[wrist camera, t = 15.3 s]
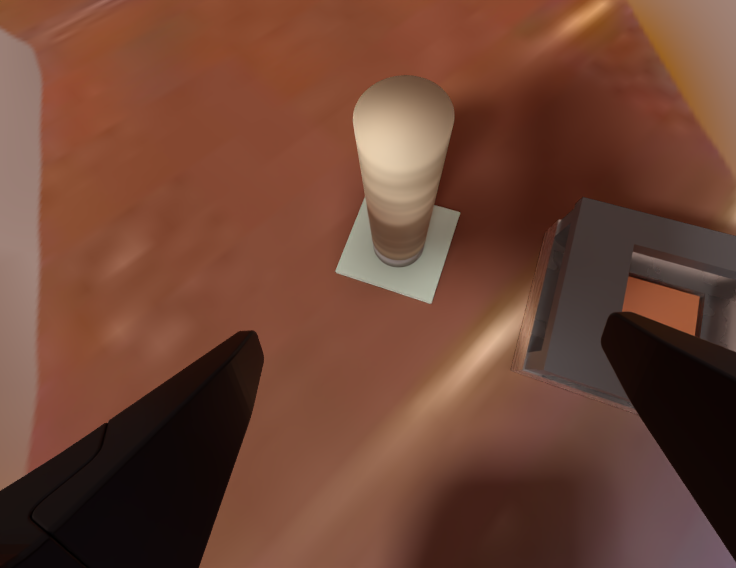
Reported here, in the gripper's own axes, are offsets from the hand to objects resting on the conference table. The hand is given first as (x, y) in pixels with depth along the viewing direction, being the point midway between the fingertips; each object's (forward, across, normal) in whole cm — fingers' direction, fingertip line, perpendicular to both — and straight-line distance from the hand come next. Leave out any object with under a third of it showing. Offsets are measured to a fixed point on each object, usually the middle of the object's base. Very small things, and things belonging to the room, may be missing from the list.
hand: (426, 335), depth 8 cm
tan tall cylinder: (+15, 0, +4) cm, 15 cm away
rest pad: (+15, 0, +4) cm, 16 cm away
